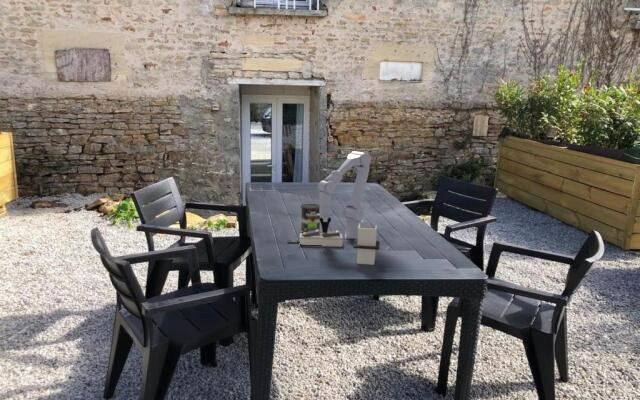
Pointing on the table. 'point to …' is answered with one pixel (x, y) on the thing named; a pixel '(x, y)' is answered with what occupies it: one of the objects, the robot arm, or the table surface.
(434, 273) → the table surface
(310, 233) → the rocker
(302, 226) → the coffee can
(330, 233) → the rocker
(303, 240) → the rocker switch box
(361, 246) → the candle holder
